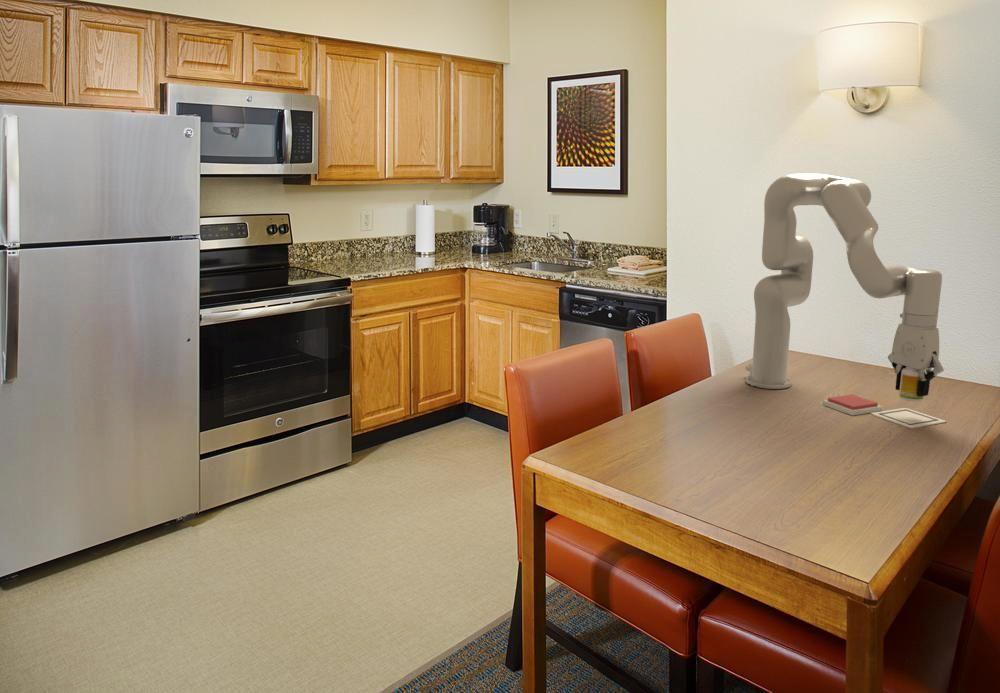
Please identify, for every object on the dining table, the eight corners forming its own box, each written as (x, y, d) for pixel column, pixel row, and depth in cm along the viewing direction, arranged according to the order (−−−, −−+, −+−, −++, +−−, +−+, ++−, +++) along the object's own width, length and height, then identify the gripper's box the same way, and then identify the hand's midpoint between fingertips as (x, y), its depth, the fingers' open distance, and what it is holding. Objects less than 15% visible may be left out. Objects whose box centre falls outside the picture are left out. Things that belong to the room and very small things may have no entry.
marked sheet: (870, 414, 196) (870, 412, 196) (905, 408, 201) (905, 407, 201) (910, 428, 185) (911, 426, 185) (946, 422, 190) (946, 420, 190)
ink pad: (822, 404, 204) (823, 397, 204) (851, 400, 208) (852, 393, 208) (852, 415, 195) (853, 407, 195) (881, 410, 199) (882, 403, 199)
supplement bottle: (926, 402, 189) (930, 363, 187) (902, 401, 190) (906, 363, 188) (919, 396, 194) (923, 358, 192) (895, 395, 195) (900, 357, 193)
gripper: (879, 316, 194) (872, 385, 198) (939, 328, 178) (930, 403, 182) (901, 313, 197) (893, 382, 201) (962, 325, 181) (953, 399, 185)
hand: (911, 391), depth 191 cm, fingers closed on supplement bottle, 5 cm apart
